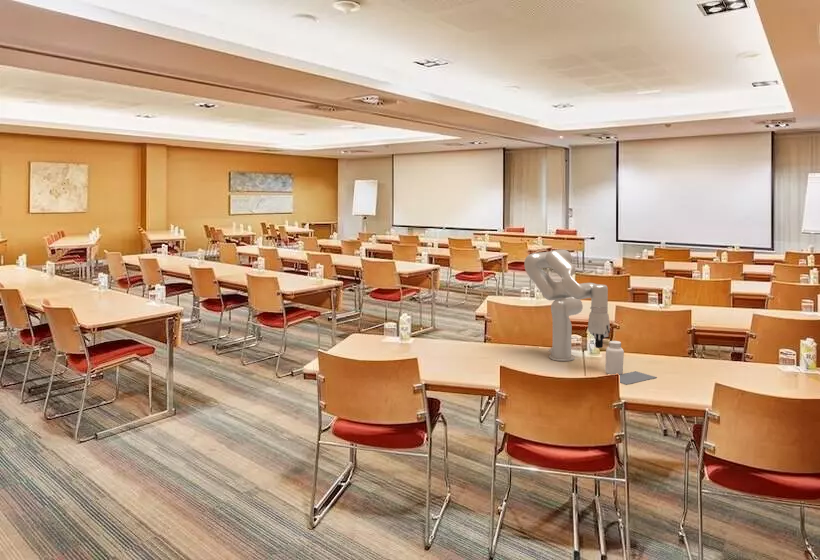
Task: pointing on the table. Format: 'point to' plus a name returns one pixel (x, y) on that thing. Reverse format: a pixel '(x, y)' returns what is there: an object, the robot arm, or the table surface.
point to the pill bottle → (614, 358)
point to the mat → (634, 377)
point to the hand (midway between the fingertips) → (599, 347)
